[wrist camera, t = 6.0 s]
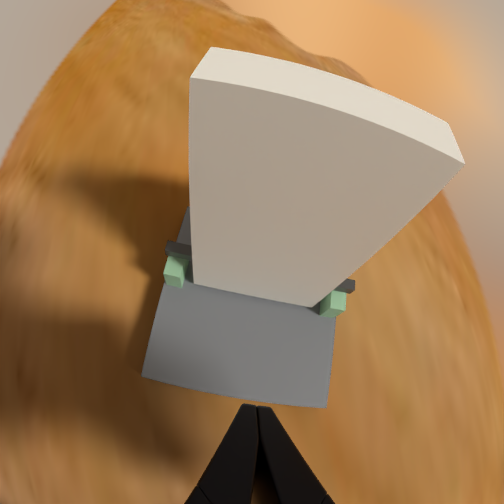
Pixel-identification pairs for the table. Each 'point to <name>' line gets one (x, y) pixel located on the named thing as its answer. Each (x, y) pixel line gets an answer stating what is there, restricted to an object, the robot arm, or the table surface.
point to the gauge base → (240, 340)
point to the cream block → (301, 175)
